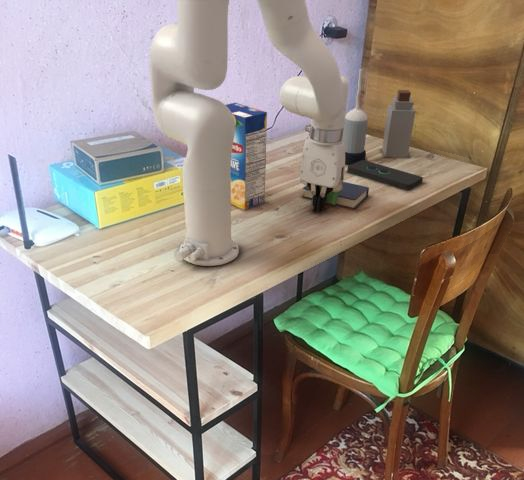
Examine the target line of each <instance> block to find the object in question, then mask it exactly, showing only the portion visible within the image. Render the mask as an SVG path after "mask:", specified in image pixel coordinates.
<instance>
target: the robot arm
mask: <svg viewBox="0 0 524 480" xmlns="http://www.w3.org/2000/svg"><path fill="white" fill-rule="evenodd" d="M256 1H257V3H258V7H259V11H260V14H261V17H262V20H263V21H262V22H263V24H264V28H265V31H266V35H267V38H268V41H269V42H270V44H271V45H272V46H273V47H274V48H275V49H276V50H277V51H278V52H279V53H281V54H282V55H283V56H284V57H286V58H287V59H288V60H290V61H291V62H292V63H293V64H294V65H295V66H297V68H299V69H300V70H301V71H302V73H303V74H304V75H305V76H304V75H295V76H292V77H289V78H288V79H287V80H286V81H285V82H284V83H283V84H282V86H281V88H280V90H279V101H280V104H281V106H282V107H283V108H284V109H285V110H286V111H288V112H289V113H292V114H295V115H297V116H300V117H305V118H308V119H310V124H306V125H305V127H304V131H305V132H308V137H306V138H305V140H304V144H303V148H302V152H301V157H300V162H299V169H298V177H299V182H300V183H301V184H303V185H304V186H306V185H307V186H308V187H309V189H310V190H311V194H312V195H313V200H312V199H311V207H312V212H316V213H320V212H322V211H323V210H325V208H326V205H327V203H326V198H327V194H328V193H330V192H339V191H341V190H342V182H344V180H345V179H344V178H345V170H346V164H345V144H344V141H342V138H343V129H344V120H345V116H346V111H347V102H348V96H349V86H350V85H349V79H347V77H346V76H344V75H342V74H341V71H340V68H339V65H338V63H337V60H336V58H335V57H334V55H333V53H332V52H331V50H330V49H329V47H328V46H327V45H326V43H325V42H324V40H323V39H322V37H321V35H320V34H319V33H318V32H317V31H316V30H315V28H314V27H313V25H312V23H311V19H310V17H309V16H310V15H309V12H308V8H307V3H306V0H256ZM229 3H230V0H177V23H171V24H169V23H168V24H166V25H164V26H163V27H161V28H160V29H159V30H158V31H157V32H156V33H155V34H154V36H153V39H152V42H151V44H150V48H149V59H148V60H149V76H150V77H149V78H150V91H151V104H152V114H153V118H154V122H155V125H156V127H157V128H158V130H159V132H161V133H162V134H163V135H164V136H166V137H168V138H169V139H171V140H174V141H176V142H178V143H181V144H182V145H184V146H187V152H186V155H185V158H184V160H183V164H182V171H181V172H182V173H181V178H182V190H183V207H184V223H185V238H184V241H183V242H182V243H181V244H180V246H179V250H178V251H176V252H175V253H174V257H175V260H176V261H178V262H182V261H183V260H184V261H186V262H187V263H189V264H192V265H195V266H202V267H214V266H221V265H225V264H228V263H230V262H232V261H233V260H235V259H236V258H237V257H238V256H239V251H240V247H239V245H238V243H237V242H236V241H234V240H233V238H232V204H231V177H230V169H231V152H232V146H233V141H234V135H235V120H234V117H233V114H232V113H231V111H230V109H229V108H228V107H227V106H226V105H227V104H225V103H223V102H222V101H220V100H219V99H216V98H214V97H211V96H208V95H205V94H201V93H197V92H195V89H198V90H203V91H212V90H216V89H217V88H219V87H221V86H222V84H223V83H224V82H225V80H226V77H227V72H228V59H229V58H228V53H229V52H228V48H229V46H228V44H229V43H228V42H229V40H228V36H229V35H228V33H229V30H228V28H229V27H228V26H229V25H228V19H229V16H228V15H229ZM320 186H322V189H321V192H320Z"/></svg>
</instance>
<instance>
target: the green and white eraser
mask: <svg viewBox="0 0 524 480" xmlns="http://www.w3.org/2000/svg"><path fill="white" fill-rule="evenodd" d="M321 189H322V186H320V192H321ZM338 194H339V192H330V193H328V194H327V198H326V204H330V205H333V206H337V205H336V201H337V198H338ZM312 199H313V197H312ZM312 199H311V200H312Z"/></svg>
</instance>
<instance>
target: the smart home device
mask: <svg viewBox="0 0 524 480" xmlns="http://www.w3.org/2000/svg"><path fill="white" fill-rule="evenodd" d="M347 173H349V174H353V175H355V176H359V177H363V178H365V179H369V180H371V181H375V182H379V183H382V184H383V185H388V186H391V187H394V188H398V189H401V190H403V191H410V190H412V189H414V188H416V187H417V186H419V185H422V184H423V179H424V177H423V176H421V175H417V174H413V173H410V172H407V171H404V170H400V169H397V168H393V167H390V166H386V165H382V164H379V163H376V162H372V161H368V160H366V159H365V160H361V161H358V162H356V163H354V164H352V165H347Z"/></svg>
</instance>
